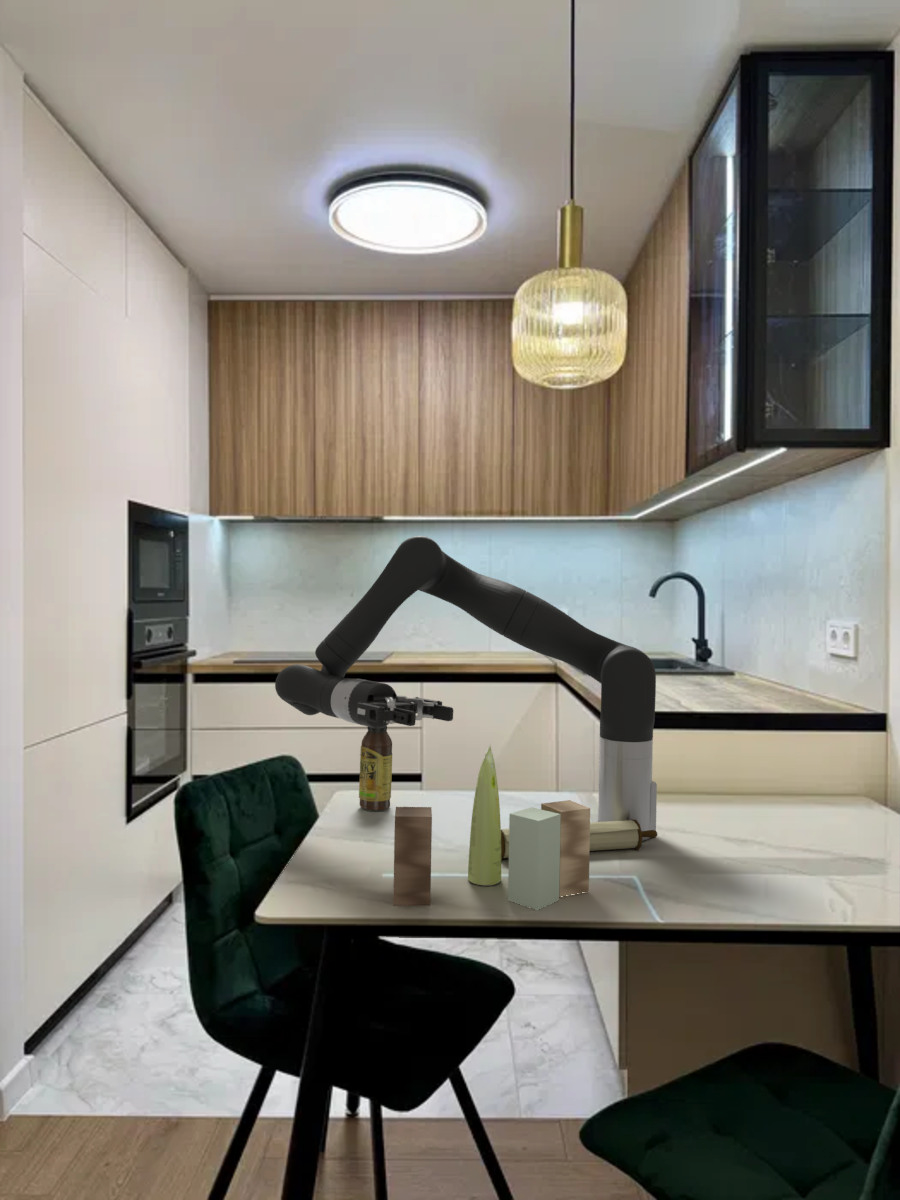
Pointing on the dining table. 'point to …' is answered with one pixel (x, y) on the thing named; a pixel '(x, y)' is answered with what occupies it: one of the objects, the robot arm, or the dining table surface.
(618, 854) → the dining table surface
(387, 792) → the sauce bottle
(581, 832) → the oak block
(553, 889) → the sage block
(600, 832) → the rolling pin
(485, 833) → the tube
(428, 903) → the walnut block
